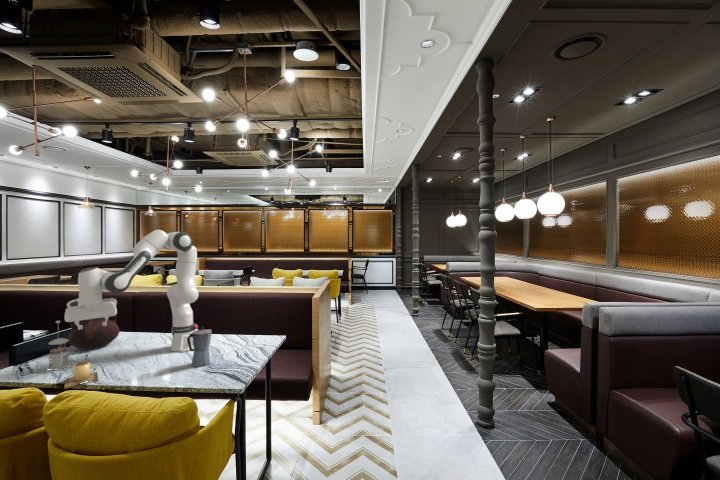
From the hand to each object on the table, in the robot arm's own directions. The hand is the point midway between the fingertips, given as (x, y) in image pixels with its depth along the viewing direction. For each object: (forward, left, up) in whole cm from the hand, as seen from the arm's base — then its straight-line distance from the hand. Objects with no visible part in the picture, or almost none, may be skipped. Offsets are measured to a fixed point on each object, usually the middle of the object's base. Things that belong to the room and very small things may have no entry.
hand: (92, 327), depth 163 cm
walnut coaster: (+4, +6, -24) cm, 25 cm away
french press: (+18, -22, -24) cm, 37 cm away
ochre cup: (+4, +6, -23) cm, 24 cm away
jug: (+8, -52, -24) cm, 57 cm away
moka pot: (-47, +15, -24) cm, 55 cm away
